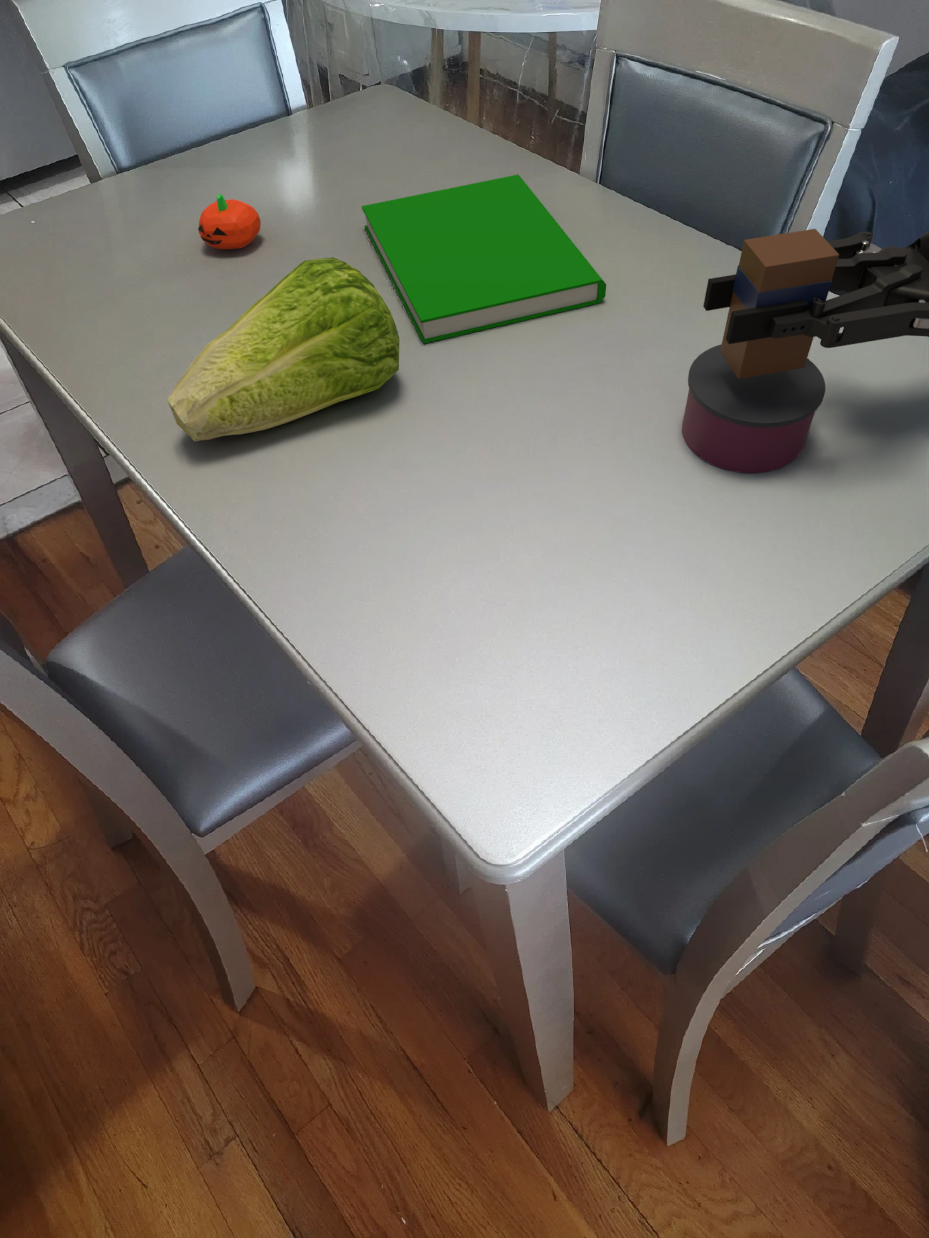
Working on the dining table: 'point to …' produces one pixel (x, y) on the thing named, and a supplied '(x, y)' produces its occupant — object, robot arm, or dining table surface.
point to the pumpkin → (228, 224)
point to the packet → (778, 296)
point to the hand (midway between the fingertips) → (719, 311)
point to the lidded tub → (749, 414)
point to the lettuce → (290, 354)
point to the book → (479, 258)
